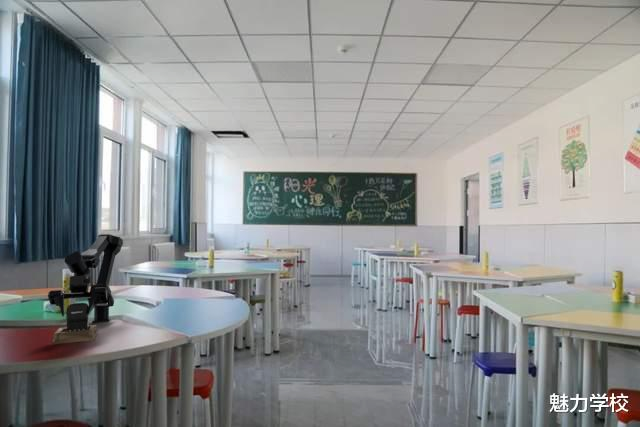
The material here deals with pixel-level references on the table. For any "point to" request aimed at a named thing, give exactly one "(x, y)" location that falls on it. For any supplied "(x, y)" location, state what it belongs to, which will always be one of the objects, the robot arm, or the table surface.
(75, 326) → the battery
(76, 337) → the wooden tray
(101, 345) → the table surface
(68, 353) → the table surface
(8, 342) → the table surface
